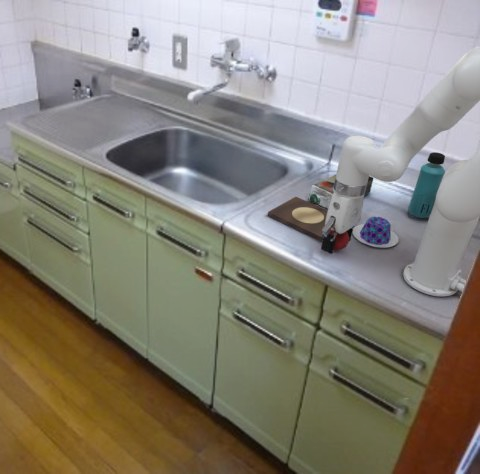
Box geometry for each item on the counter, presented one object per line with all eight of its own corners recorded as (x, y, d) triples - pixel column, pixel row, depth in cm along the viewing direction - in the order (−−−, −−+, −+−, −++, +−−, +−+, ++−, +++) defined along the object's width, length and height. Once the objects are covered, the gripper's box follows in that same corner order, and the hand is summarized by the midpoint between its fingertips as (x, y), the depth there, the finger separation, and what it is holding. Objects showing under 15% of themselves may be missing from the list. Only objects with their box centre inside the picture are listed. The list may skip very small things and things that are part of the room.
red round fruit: (346, 258, 138) (353, 232, 134) (324, 255, 139) (329, 229, 134) (344, 246, 143) (351, 220, 138) (322, 243, 144) (328, 218, 139)
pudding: (344, 237, 146) (348, 221, 143) (364, 221, 153) (368, 205, 151) (386, 255, 139) (391, 238, 136) (404, 237, 147) (410, 221, 144)
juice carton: (332, 213, 157) (336, 195, 153) (305, 201, 163) (309, 183, 160) (371, 194, 167) (375, 177, 164) (344, 183, 174) (348, 166, 170)
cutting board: (347, 223, 152) (348, 218, 152) (320, 241, 144) (321, 236, 144) (295, 200, 163) (295, 196, 162) (267, 216, 155) (268, 211, 154)
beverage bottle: (415, 224, 153) (436, 160, 142) (401, 212, 158) (419, 150, 147) (434, 221, 154) (456, 158, 143) (419, 210, 160) (439, 148, 149)
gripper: (344, 203, 123) (330, 264, 133) (381, 180, 133) (365, 239, 143) (316, 192, 127) (304, 251, 137) (354, 170, 137) (340, 227, 147)
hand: (335, 244), depth 140 cm, fingers open, 7 cm apart
